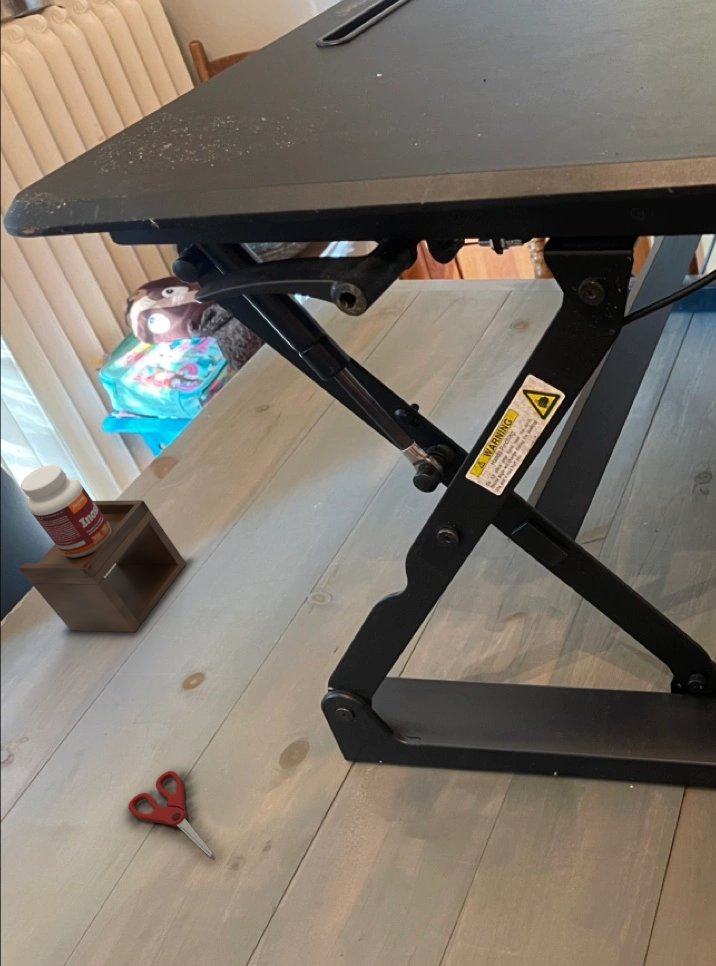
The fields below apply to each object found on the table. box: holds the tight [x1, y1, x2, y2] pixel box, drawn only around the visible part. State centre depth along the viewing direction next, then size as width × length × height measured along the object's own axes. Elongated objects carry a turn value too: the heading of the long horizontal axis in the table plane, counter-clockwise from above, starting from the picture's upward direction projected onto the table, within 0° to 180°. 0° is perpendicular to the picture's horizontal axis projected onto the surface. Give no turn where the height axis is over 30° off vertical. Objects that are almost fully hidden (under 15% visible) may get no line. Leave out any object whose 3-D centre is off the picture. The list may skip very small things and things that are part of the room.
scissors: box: [128, 770, 213, 858], centre depth 110 cm, size 5×14×1 cm, turn 50°
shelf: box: [18, 499, 187, 633], centre depth 137 cm, size 10×12×12 cm
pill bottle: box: [20, 464, 112, 558], centre depth 131 cm, size 6×6×11 cm
